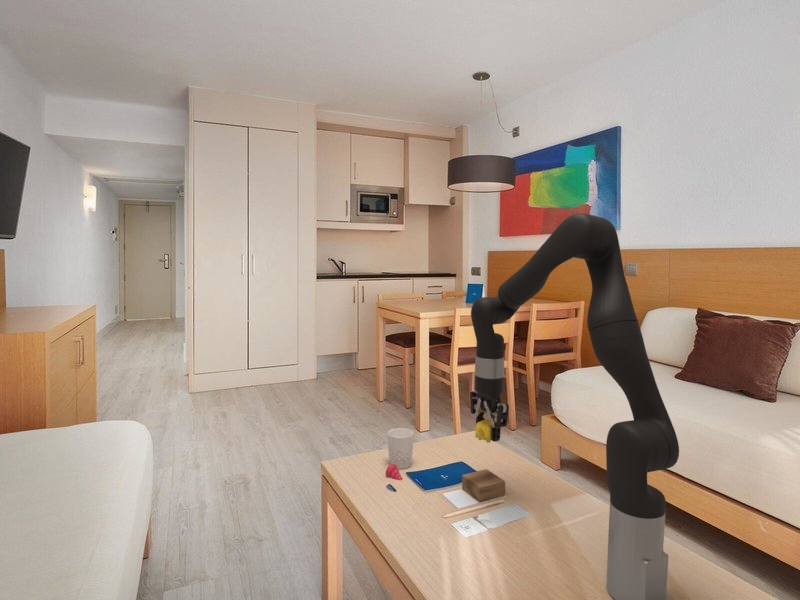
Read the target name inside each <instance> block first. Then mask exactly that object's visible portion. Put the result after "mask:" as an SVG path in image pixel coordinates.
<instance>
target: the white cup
mask: <svg viewBox="0 0 800 600" xmlns="http://www.w3.org/2000/svg"><path fill="white" fill-rule="evenodd" d="M414 434H415V432H414V431H413V430H411V429H410V428H405V427H404V428H402V427H401V428H400V427H397V428H396V427H395V428H392V429H389V430H388V431H387V450H388V459H389V460H388V461H389V465H390V464H392V463H394V464H396V465H397V470H403V469H405V470H406V469H408V468H411V466H412V464H413V454H414V452H413V450H414V449H413V448H414Z"/></svg>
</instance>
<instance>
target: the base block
mask: <svg viewBox="0 0 800 600" xmlns="http://www.w3.org/2000/svg"><path fill="white" fill-rule="evenodd" d="M461 489H462V490H464V491H465V492H466V493H468V494H469V495H470V496H471V497H473V498H474V499H475V500H477V501H478V502H479V503H481V502H484V503H486V502H485V501H488V500H492V499H495V500H497V499H496V498H499V497H503V496H506V481H505V480H504V479H502V478H501V477H500V476H498V475H497V474H494V473H493V472H492V471H490V470H489V469H482V470H477V471H473V472H469V473H465V474H464V473H463V474H462V475H461ZM462 490H461V491H462ZM465 492H464V493H465ZM466 493H465V494H466ZM469 495H468V496H469ZM470 496H469V497H470ZM471 497H470V498H471ZM503 498H504V497H503ZM474 499H473V500H474ZM499 499H500V498H499ZM475 500H474V501H475ZM492 501H493V500H492ZM478 502H477V503H478ZM488 502H489V501H488ZM479 503H478V504H479ZM481 504H482V503H481Z"/></svg>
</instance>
